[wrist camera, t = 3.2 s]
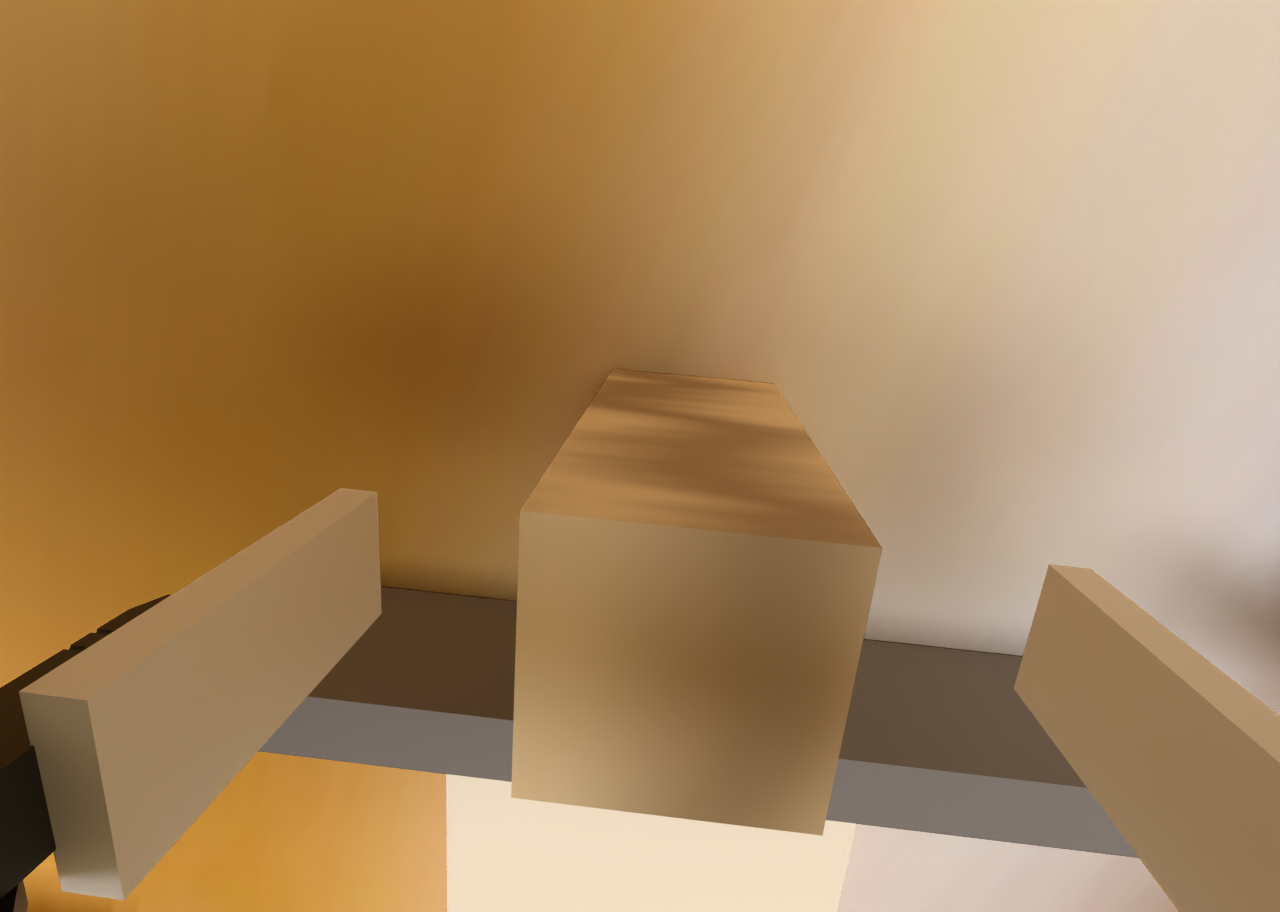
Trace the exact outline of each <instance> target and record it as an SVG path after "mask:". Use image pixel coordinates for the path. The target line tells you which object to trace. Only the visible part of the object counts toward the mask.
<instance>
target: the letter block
mask: <svg viewBox="0 0 1280 912" xmlns="http://www.w3.org/2000/svg"><path fill="white" fill-rule="evenodd" d="M881 551H882V547H881V546H880V544H879V542H878V541H877V539H876V538H875V536H874V535H873V533H872V532H871V530H870V529H869V527H868V526H867V524H866V523H865V521H864V520H863V518H862V517H861V515H860V514H859V512H858V511H857V509H856V508H855V506H854V505H853V503H852V502H851V500H850V498H849V497H848V495H847V494H846V492H845V491H844V489H843V488H842V486H841V485H840V483H839V482H838V480H837V479H836V477H835V476H834V474H833V473H832V471H831V470H830V468H829V467H828V465H827V464H826V462H825V461H824V459H823V457H822V456H821V454H820V453H819V451H818V450H817V448H816V447H815V445H814V444H813V442H812V441H811V439H810V438H809V436H808V435H807V433H806V432H805V430H804V429H803V427H802V426H801V424H800V423H799V421H798V420H797V418H796V417H795V415H794V413H793V412H792V410H791V409H790V407H789V406H788V404H787V403H786V401H785V400H784V398H783V397H782V395H781V394H780V392H779V391H778V389H777V388H776V386H775V385H774V384H772V383H761V382H750V381H740V380H729V379H718V378H707V377H697V376H686V375H675V374H665V373H654V372H643V371H632V370H622V369H612V371H611V373H610V374H609V376H608V377H607V379H606V380H605V382H604V383H603V385H602V386H601V388H600V389H599V391H598V392H597V394H596V395H595V397H594V398H593V400H592V401H591V403H590V404H589V406H588V408H587V409H586V411H585V412H584V414H583V415H582V417H581V418H580V420H579V421H578V423H577V424H576V426H575V427H574V429H573V430H572V432H571V433H570V435H569V436H568V438H567V439H566V441H565V442H564V444H563V446H562V447H561V449H560V450H559V452H558V453H557V455H556V456H555V458H554V459H553V461H552V462H551V464H550V465H549V467H548V468H547V470H546V471H545V473H544V474H543V476H542V477H541V479H540V481H539V482H538V484H537V485H536V487H535V488H534V490H533V491H532V493H531V494H530V496H529V497H528V499H527V500H526V502H525V503H524V505H523V506H522V508H521V509H520V517H519V550H518V584H517V617H516V651H515V684H514V718H513V751H512V785H511V798H517V799H526V800H534V801H542V802H550V803H558V804H567V805H575V806H583V807H591V808H599V809H608V810H616V811H624V812H632V813H641V814H649V815H657V816H665V817H673V818H682V819H690V820H698V821H706V822H714V823H723V824H731V825H739V826H747V827H755V828H764V829H772V830H780V831H788V832H797V833H805V834H813V835H821V836H822V835H823V831H824V826H825V821H826V816H827V811H828V807H829V802H830V797H831V792H832V787H833V782H834V778H835V773H836V768H837V763H838V758H839V753H840V749H841V744H842V739H843V734H844V729H845V725H846V720H847V715H848V710H849V705H850V700H851V696H852V691H853V686H854V681H855V676H856V672H857V667H858V662H859V657H860V652H861V647H862V643H863V638H864V633H865V628H866V623H867V618H868V614H869V609H870V604H871V599H872V594H873V590H874V585H875V580H876V575H877V570H878V565H879V561H880V556H881Z"/></svg>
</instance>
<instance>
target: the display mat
mask: <svg viewBox="0 0 1280 912" xmlns="http://www.w3.org/2000/svg"><path fill="white" fill-rule="evenodd" d="M511 785H512V782H508V781H500V780H492V779H483V778H475V777H467V776H459V775H450V774H446V795H447V912H837V910H838V905H839V901H840V897H841V892H842V888H843V883H844V879H845V874H846V870H847V865H848V861H849V857H850V852H851V848H852V843H853V839H854V834H855V830H856V825H857V824H855V823H847V822H838V821H830V820H826V821H825V826H824V831H823V835H822V836H821V835H813V834H805V833H797V832H788V831H780V830H772V829H764V828H755V827H747V826H739V825H731V824H723V823H714V822H706V821H698V820H690V819H682V818H673V817H665V816H657V815H649V814H641V813H632V812H624V811H616V810H608V809H599V808H591V807H583V806H575V805H567V804H558V803H550V802H542V801H534V800H526V799H517V798H511Z"/></svg>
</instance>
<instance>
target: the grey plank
mask: <svg viewBox="0 0 1280 912" xmlns="http://www.w3.org/2000/svg"><path fill="white" fill-rule="evenodd" d="M381 611H382V614H381V615H380V616H379V617H378V618H377V619H376V620H375V621H374V623H373V624H372V625H371V626H370V627H369V628H368V629H367V630H366V631H365V633H364V634H363V635H362V636H361V637H360V638H359V639H358V640H357V641H356V643H355V644H354V645H353V646H352V647H351V648H350V649H349V650H348V651H347V653H346V654H345V655H344V656H343V657H342V658H341V659H340V660H339V662H338V663H337V664H336V665H335V666H334V667H333V668H332V669H331V670H330V672H329V673H328V674H327V675H326V676H325V677H324V678H323V679H322V680H321V682H320V683H319V684H318V685H317V686H316V687H315V688H314V689H313V690H312V692H311V693H310V694H309V695H308V696H307V697H306V698H305V699H304V700H303V702H302V703H301V704H300V705H299V706H298V707H297V708H296V709H295V710H294V712H293V713H292V714H291V715H290V716H289V717H288V718H287V719H286V720H285V722H284V723H283V724H282V725H281V726H280V727H279V728H278V729H277V731H276V732H275V733H274V734H273V735H272V736H271V737H270V738H269V739H268V741H267V742H266V743H265V744H264V745H263V746H262V747H261V748H260V749H259V751H261V752H269V753H277V754H285V755H294V756H302V757H310V758H318V759H327V760H335V761H343V762H351V763H360V764H368V765H376V766H384V767H393V768H401V769H409V770H417V771H426V772H434V773H442V774H450V775H459V776H467V777H475V778H483V779H492V780H500V781H508V782H512V751H513V718H514V684H515V651H516V617H517V601H508V600H499V599H490V598H481V597H471V596H462V595H453V594H444V593H435V592H426V591H416V590H407V589H398V588H389V587H381ZM1022 658H1023V657H1021V656H1012V655H1002V654H993V653H984V652H975V651H966V650H957V649H947V648H938V647H929V646H920V645H911V644H902V643H893V642H883V641H874V640H865V639H863V643H862V647H861V652H860V657H859V662H858V667H857V672H856V676H855V681H854V686H853V691H852V696H851V700H850V705H849V710H848V715H847V720H846V725H845V729H844V734H843V739H842V744H841V749H840V753H839V758H838V763H837V768H836V773H835V778H834V782H833V787H832V792H831V797H830V802H829V807H828V811H827V816H826V820H830V821H838V822H847V823H855V824H863V825H871V826H880V827H888V828H896V829H904V830H913V831H921V832H929V833H937V834H946V835H954V836H962V837H970V838H979V839H987V840H995V841H1003V842H1012V843H1020V844H1028V845H1036V846H1045V847H1053V848H1061V849H1069V850H1078V851H1086V852H1094V853H1102V854H1111V855H1119V856H1127V857H1135V858H1139V857H1138V855H1137V854H1136V853H1135V851H1134V850H1133V849H1132V847H1131V846H1130V845H1129V843H1128V842H1127V841H1126V839H1125V838H1124V837H1123V835H1122V834H1121V833H1120V831H1119V830H1118V829H1117V827H1116V826H1115V824H1114V823H1113V822H1112V820H1111V819H1110V818H1109V816H1108V815H1107V814H1106V812H1105V811H1104V810H1103V808H1102V807H1101V806H1100V804H1099V803H1098V802H1097V800H1096V799H1095V798H1094V796H1093V795H1092V793H1091V792H1090V791H1089V789H1088V788H1087V787H1086V785H1085V784H1084V783H1083V781H1082V780H1081V779H1080V777H1079V776H1078V775H1077V773H1076V772H1075V771H1074V769H1073V768H1072V767H1071V765H1070V764H1069V762H1068V761H1067V760H1066V758H1065V757H1064V756H1063V754H1062V753H1061V752H1060V750H1059V749H1058V748H1057V746H1056V745H1055V744H1054V742H1053V741H1052V740H1051V738H1050V737H1049V736H1048V734H1047V733H1046V731H1045V730H1044V729H1043V727H1042V726H1041V725H1040V723H1039V722H1038V721H1037V719H1036V718H1035V717H1034V715H1033V714H1032V713H1031V711H1030V710H1029V709H1028V707H1027V706H1026V705H1025V703H1024V702H1023V700H1022V699H1021V698H1020V696H1019V695H1018V694H1017V692H1016V691H1015V690H1014V686H1015V682H1016V679H1017V675H1018V672H1019V668H1020V665H1021V661H1022Z"/></svg>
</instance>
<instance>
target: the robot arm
mask: <svg viewBox="0 0 1280 912" xmlns="http://www.w3.org/2000/svg"><path fill="white" fill-rule="evenodd" d="M381 614H382V611H381V581H380V550H379V520H378V492H375V491H365V490H356V489H347V488H340V489H338V490H336V491H335V492H333V493H332V494H330V495H329V496H327V497H325V498H324V499H322V500H321V501H319V502H318V503H316V504H314V505H313V506H311V507H310V508H308V509H306V510H305V511H303V512H302V513H300V514H299V515H297V516H295V517H294V518H292V519H291V520H289V521H287V522H286V523H284V524H283V525H281V526H280V527H278V528H276V529H275V530H273V531H272V532H270V533H269V534H267V535H265V536H264V537H262V538H261V539H259V540H257V541H256V542H254V543H253V544H251V545H250V546H248V547H246V548H245V549H243V550H242V551H240V552H238V553H237V554H235V555H234V556H232V557H231V558H229V559H227V560H226V561H224V562H223V563H221V564H220V565H218V566H216V567H215V568H213V569H212V570H210V571H208V572H207V573H205V574H204V575H202V576H201V577H199V578H197V579H196V580H194V581H193V582H191V583H189V584H188V585H186V586H185V587H183V588H182V589H180V590H178V591H177V592H175V593H174V594H172V595H166V596H163V597H161V598H158V599H155V600H153V601H150V602H147V603H145V604H142V605H139V606H137V607H134V608H132V609H129V610H127V611H126V612H124V613H122V614H121V615H119V616H117V617H116V618H114V619H113V620H111V621H109V622H108V623H106V624H104V625H103V626H101V627H99V628H98V629H97V632H96V633H90V634H88V635H86V636H85V637H83V638H81V639H80V640H78V641H77V642H75V643H73V644H72V645H71V647H70V649H69V650H65V649H63V650H62V651H60V652H59V653H57V654H55V655H54V656H52V657H50V658H49V659H47V660H45V661H44V662H42V663H41V664H39V665H37V666H36V667H34V668H32V669H31V670H29V671H27V672H26V673H24V674H23V675H21V676H19V677H18V678H16V679H14V680H13V681H11V682H9V683H8V684H6V685H5V686H3V687H1V688H0V912H27V906H28V902H27V897H26V892H25V887H24V883H23V879H24V878H25V877H26V876H27V875H28V874H30V873H31V872H32V871H33V870H34V869H35V868H36V867H37V866H38V865H39V864H40V863H42V862H43V861H44V860H45V859H46V858H47V857H48V856H49V855H50V854H51V853H52V852H54V856H55V861H56V865H57V870H58V875H59V879H60V884H61V888H62V891H64V892H70V893H77V894H84V895H91V896H98V897H104V898H111V899H118V900H125V899H126V897H127V896H128V895H129V894H130V893H131V892H132V891H133V890H134V889H135V887H136V886H137V885H138V884H139V883H140V882H141V881H142V880H143V879H144V877H145V876H146V875H147V874H148V873H149V872H150V871H151V870H152V869H153V867H154V866H155V865H156V864H157V863H158V862H159V861H160V860H161V859H162V857H163V856H164V855H165V854H166V853H167V852H168V851H169V850H170V848H171V847H172V846H173V845H174V844H175V843H176V842H177V841H178V840H179V838H180V837H181V836H182V835H183V834H184V833H185V832H186V831H187V830H188V828H189V827H190V826H191V825H192V824H193V823H194V822H195V821H196V820H197V818H198V817H199V816H200V815H201V814H202V813H203V812H204V811H205V810H206V808H207V807H208V806H209V805H210V804H211V803H212V802H213V801H214V800H215V798H216V797H217V796H218V795H219V794H220V793H221V792H222V791H223V789H224V788H225V787H226V786H227V785H228V784H229V783H230V782H231V781H232V779H233V778H234V777H235V776H236V775H237V774H238V773H239V772H240V771H241V769H242V768H243V767H244V766H245V765H246V764H247V763H248V762H249V761H250V759H251V758H252V757H253V756H254V755H255V754H256V753H257V752H258V751H259V749H260V748H261V747H262V746H263V745H264V744H265V743H266V742H267V741H268V739H269V738H270V737H271V736H272V735H273V734H274V733H275V732H276V731H277V729H278V728H279V727H280V726H281V725H282V724H283V723H284V722H285V720H286V719H287V718H288V717H289V716H290V715H291V714H292V713H293V712H294V710H295V709H296V708H297V707H298V706H299V705H300V704H301V703H302V702H303V700H304V699H305V698H306V697H307V696H308V695H309V694H310V693H311V692H312V690H313V689H314V688H315V687H316V686H317V685H318V684H319V683H320V682H321V680H322V679H323V678H324V677H325V676H326V675H327V674H328V673H329V672H330V670H331V669H332V668H333V667H334V666H335V665H336V664H337V663H338V662H339V660H340V659H341V658H342V657H343V656H344V655H345V654H346V653H347V651H348V650H349V649H350V648H351V647H352V646H353V645H354V644H355V643H356V641H357V640H358V639H359V638H360V637H361V636H362V635H363V634H364V633H365V631H366V630H367V629H368V628H369V627H370V626H371V625H372V624H373V623H374V621H375V620H376V619H377V618H378V617H379V616H380V615H381ZM1014 690H1015V691H1016V692H1017V694H1018V695H1019V696H1020V698H1021V699H1022V700H1023V702H1024V703H1025V705H1026V706H1027V707H1028V709H1029V710H1030V711H1031V713H1032V714H1033V715H1034V717H1035V718H1036V719H1037V721H1038V722H1039V723H1040V725H1041V726H1042V727H1043V729H1044V730H1045V731H1046V733H1047V734H1048V736H1049V737H1050V738H1051V740H1052V741H1053V742H1054V744H1055V745H1056V746H1057V748H1058V749H1059V750H1060V752H1061V753H1062V754H1063V756H1064V757H1065V758H1066V760H1067V761H1068V762H1069V764H1070V765H1071V767H1072V768H1073V769H1074V771H1075V772H1076V773H1077V775H1078V776H1079V777H1080V779H1081V780H1082V781H1083V783H1084V784H1085V785H1086V787H1087V788H1088V789H1089V791H1090V792H1091V793H1092V795H1093V796H1094V798H1095V799H1096V800H1097V802H1098V803H1099V804H1100V806H1101V807H1102V808H1103V810H1104V811H1105V812H1106V814H1107V815H1108V816H1109V818H1110V819H1111V820H1112V822H1113V823H1114V824H1115V826H1116V827H1117V829H1118V830H1119V831H1120V833H1121V834H1122V835H1123V837H1124V838H1125V839H1126V841H1127V842H1128V843H1129V845H1130V846H1131V847H1132V849H1133V850H1134V851H1135V853H1136V854H1137V855H1138V857H1139V858H1140V860H1141V861H1142V862H1143V864H1144V865H1145V866H1146V868H1147V869H1148V870H1149V872H1150V873H1151V874H1152V876H1153V877H1154V878H1155V880H1156V881H1157V882H1158V884H1159V885H1160V886H1161V888H1162V889H1163V891H1164V892H1165V893H1166V895H1167V896H1168V897H1169V899H1170V900H1171V901H1172V903H1173V904H1174V905H1175V907H1176V908H1177V909H1178V911H1179V912H1280V716H1278V715H1277V714H1276V713H1275V712H1273V711H1272V710H1271V709H1269V708H1268V707H1267V706H1266V705H1264V704H1263V703H1262V702H1260V701H1259V700H1258V699H1257V698H1255V697H1254V696H1253V695H1251V694H1250V693H1249V692H1248V691H1246V690H1245V689H1244V688H1242V687H1241V686H1240V685H1239V684H1237V683H1236V682H1235V681H1234V680H1232V679H1231V678H1230V677H1228V676H1227V675H1226V674H1225V673H1223V672H1222V671H1221V670H1219V669H1218V668H1217V667H1216V666H1214V665H1213V664H1212V663H1210V662H1209V661H1208V660H1207V659H1205V658H1204V657H1203V656H1201V655H1200V654H1199V653H1198V652H1196V651H1195V650H1194V649H1192V648H1191V647H1190V646H1189V645H1187V644H1186V643H1185V642H1184V641H1182V640H1181V639H1180V638H1178V637H1177V636H1176V635H1175V634H1173V633H1172V632H1171V631H1169V630H1168V629H1167V628H1166V627H1164V626H1163V625H1162V624H1160V623H1159V622H1158V621H1157V620H1155V619H1154V618H1153V617H1151V616H1150V615H1149V614H1148V613H1146V612H1145V611H1144V610H1143V609H1141V608H1140V607H1139V606H1137V605H1136V604H1135V603H1134V602H1132V601H1131V600H1130V599H1128V598H1127V597H1126V596H1125V595H1123V594H1122V593H1121V592H1119V591H1118V590H1117V589H1116V588H1114V587H1113V586H1112V585H1110V584H1109V583H1108V582H1107V581H1105V580H1104V579H1103V578H1101V577H1100V576H1099V575H1098V574H1096V573H1095V572H1094V571H1093V570H1091V569H1086V568H1077V567H1068V566H1058V565H1049V566H1048V570H1047V573H1046V577H1045V580H1044V584H1043V587H1042V591H1041V594H1040V598H1039V601H1038V605H1037V608H1036V612H1035V615H1034V619H1033V622H1032V626H1031V630H1030V633H1029V637H1028V640H1027V644H1026V647H1025V651H1024V654H1023V658H1022V661H1021V665H1020V668H1019V672H1018V675H1017V679H1016V682H1015V686H1014Z"/></svg>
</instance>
